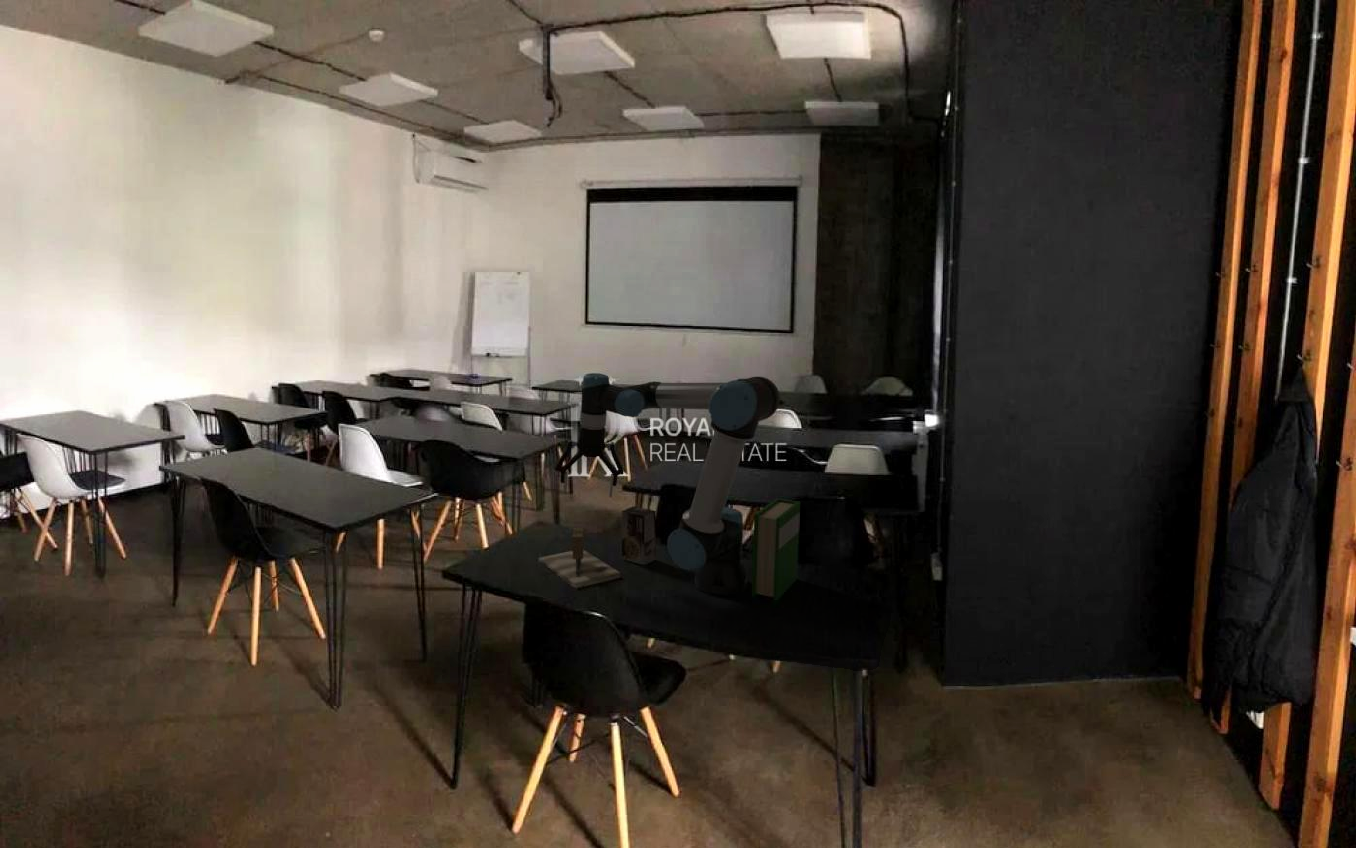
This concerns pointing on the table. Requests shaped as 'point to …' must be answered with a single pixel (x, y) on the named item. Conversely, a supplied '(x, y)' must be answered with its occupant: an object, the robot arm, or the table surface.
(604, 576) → the striped wooden board
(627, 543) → the coffee box
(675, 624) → the table surface
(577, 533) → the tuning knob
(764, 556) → the hardback book
